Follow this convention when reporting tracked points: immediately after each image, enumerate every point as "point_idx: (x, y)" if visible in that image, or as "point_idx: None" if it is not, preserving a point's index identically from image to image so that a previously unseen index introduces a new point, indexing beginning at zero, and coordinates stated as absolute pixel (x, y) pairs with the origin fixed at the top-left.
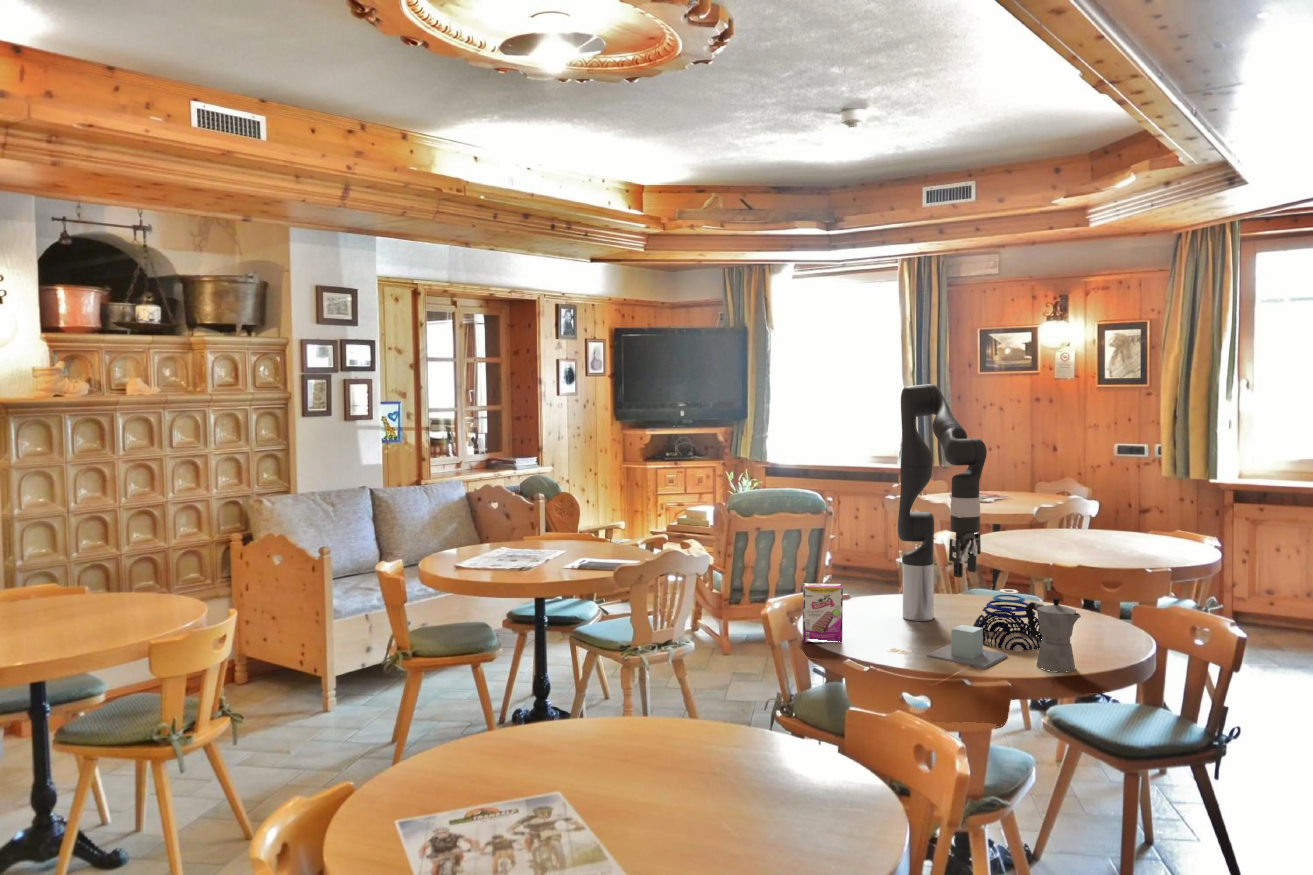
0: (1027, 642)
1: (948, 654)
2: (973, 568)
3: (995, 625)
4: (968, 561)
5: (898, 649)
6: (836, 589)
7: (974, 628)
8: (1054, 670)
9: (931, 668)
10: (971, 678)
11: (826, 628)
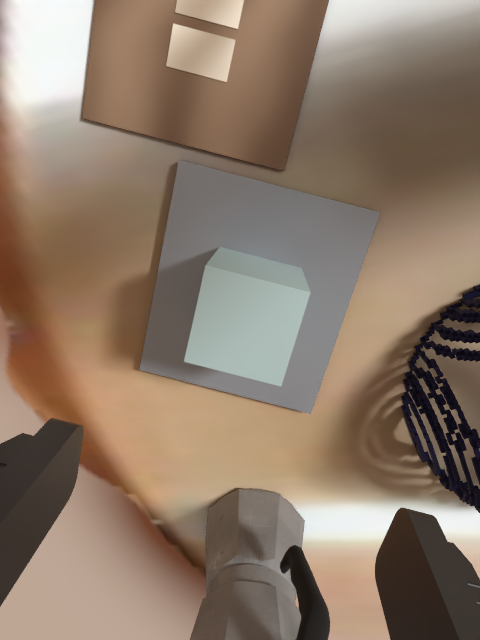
0: (433, 469)
1: (219, 236)
2: (389, 584)
3: None
4: (439, 615)
5: (226, 13)
6: None
7: (257, 356)
8: (206, 529)
9: (58, 207)
10: (26, 342)
11: None
